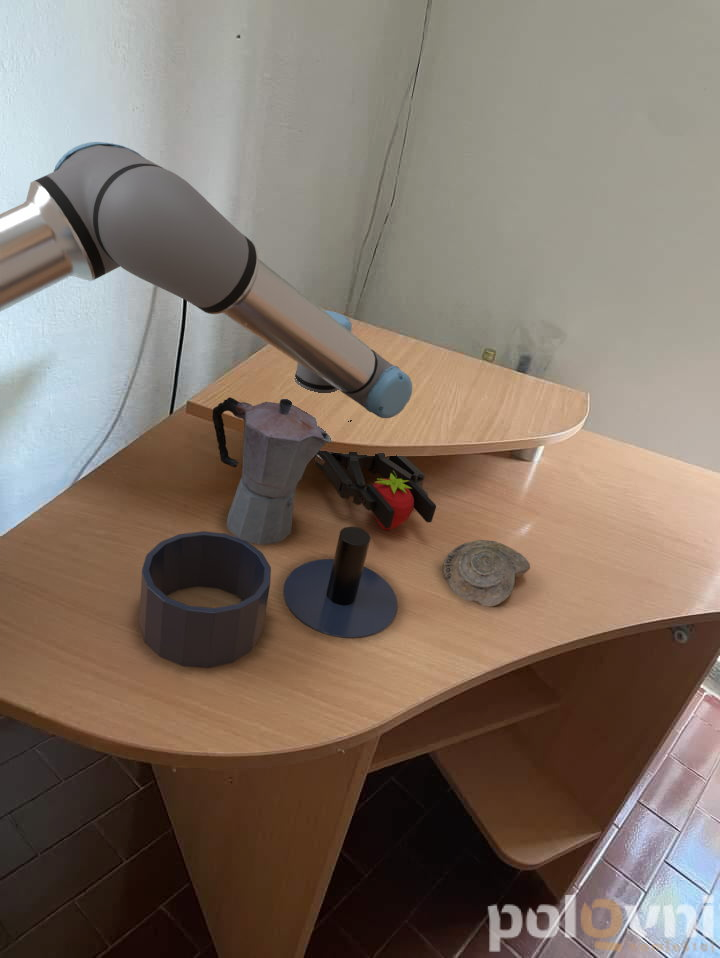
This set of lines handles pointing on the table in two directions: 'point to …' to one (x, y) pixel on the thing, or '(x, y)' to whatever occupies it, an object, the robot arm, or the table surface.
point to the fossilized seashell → (484, 571)
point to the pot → (199, 628)
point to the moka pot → (268, 465)
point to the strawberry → (396, 499)
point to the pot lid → (342, 591)
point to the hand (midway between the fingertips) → (411, 516)
